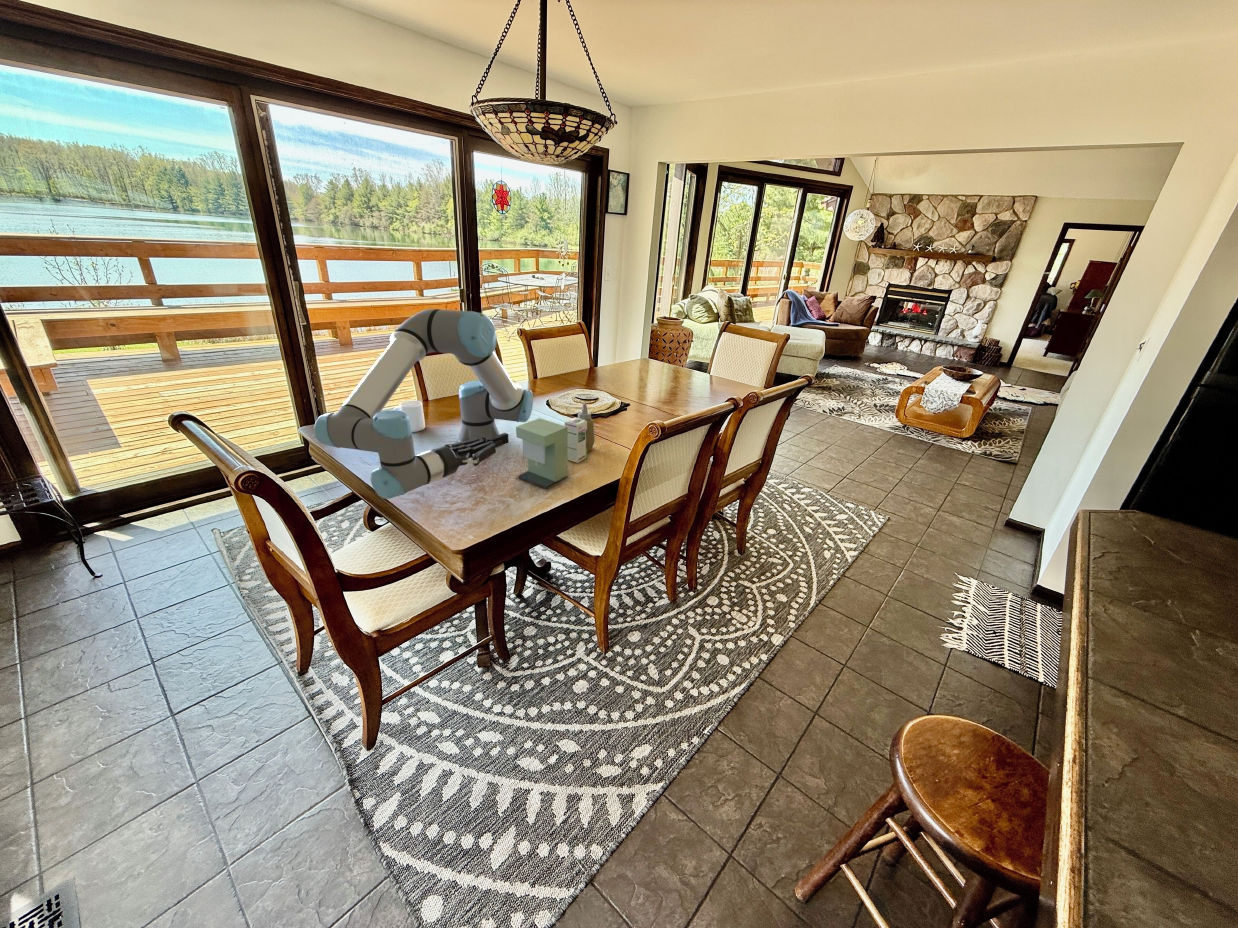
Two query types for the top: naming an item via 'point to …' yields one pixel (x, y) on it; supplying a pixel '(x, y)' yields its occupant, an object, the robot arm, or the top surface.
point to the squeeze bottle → (588, 426)
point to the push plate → (533, 451)
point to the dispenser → (546, 452)
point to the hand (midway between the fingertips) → (506, 437)
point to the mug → (413, 414)
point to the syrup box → (577, 439)
